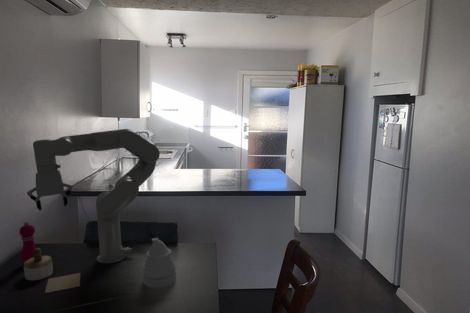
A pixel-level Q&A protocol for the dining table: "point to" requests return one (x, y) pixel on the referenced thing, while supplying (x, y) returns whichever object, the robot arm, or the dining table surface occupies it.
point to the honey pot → (159, 266)
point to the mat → (63, 282)
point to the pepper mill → (27, 241)
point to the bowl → (38, 272)
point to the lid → (37, 260)
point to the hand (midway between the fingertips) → (53, 207)
